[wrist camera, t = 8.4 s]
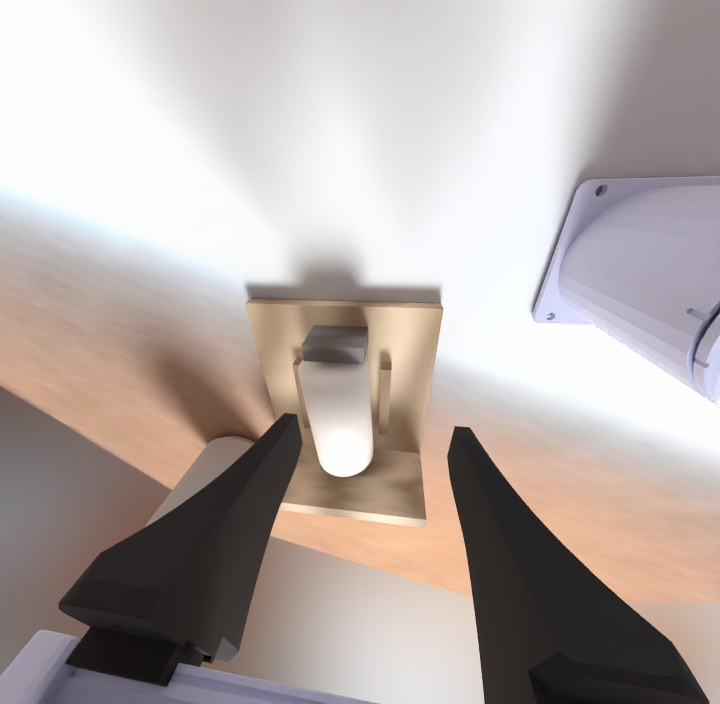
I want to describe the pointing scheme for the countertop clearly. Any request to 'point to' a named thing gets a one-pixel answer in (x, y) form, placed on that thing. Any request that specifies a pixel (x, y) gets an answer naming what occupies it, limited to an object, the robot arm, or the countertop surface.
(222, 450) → the can
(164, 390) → the countertop surface
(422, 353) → the roll holder
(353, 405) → the cylinder
